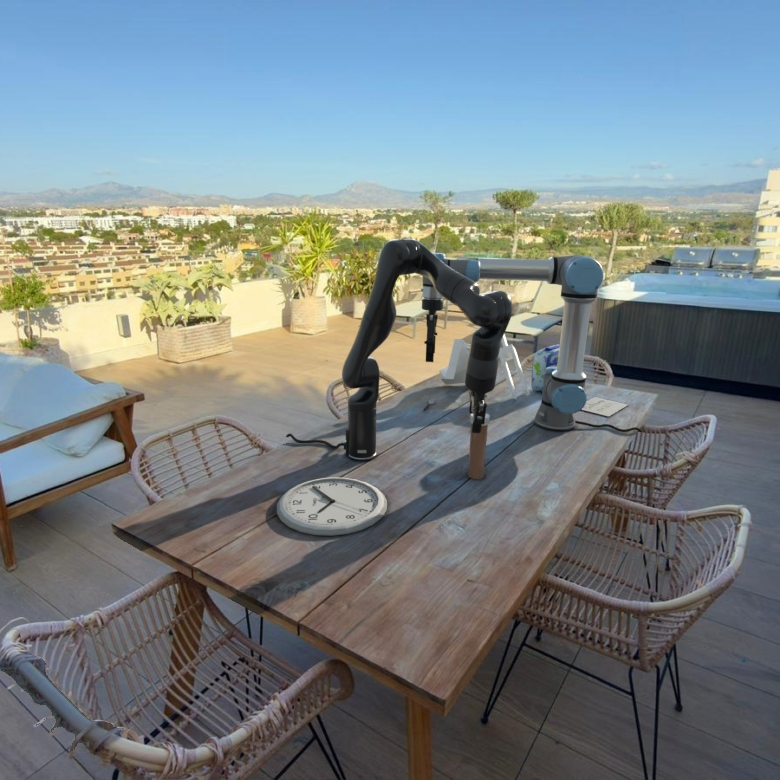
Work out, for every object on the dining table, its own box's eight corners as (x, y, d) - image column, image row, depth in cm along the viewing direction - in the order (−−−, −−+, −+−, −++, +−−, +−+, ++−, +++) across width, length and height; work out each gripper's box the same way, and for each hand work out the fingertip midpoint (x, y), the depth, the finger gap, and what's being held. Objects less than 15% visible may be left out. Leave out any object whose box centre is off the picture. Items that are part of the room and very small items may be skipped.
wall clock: (392, 527, 129) (268, 531, 127) (391, 533, 130) (269, 537, 127) (383, 473, 158) (282, 475, 155) (383, 478, 158) (282, 480, 156)
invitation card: (608, 416, 214) (573, 407, 224) (608, 416, 214) (573, 408, 224) (628, 404, 229) (594, 396, 238) (628, 405, 229) (594, 397, 238)
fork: (420, 411, 216) (420, 406, 216) (430, 400, 230) (431, 395, 230) (426, 412, 215) (426, 407, 215) (436, 401, 230) (436, 396, 229)
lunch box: (547, 397, 237) (552, 352, 231) (526, 391, 245) (531, 348, 238) (574, 386, 255) (580, 344, 249) (554, 381, 262) (559, 340, 256)
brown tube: (486, 478, 160) (491, 418, 154) (471, 480, 159) (475, 420, 153) (479, 471, 164) (484, 413, 158) (465, 473, 163) (469, 414, 157)
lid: (492, 425, 154) (493, 417, 154) (474, 426, 153) (475, 419, 152) (484, 418, 159) (484, 411, 159) (467, 419, 158) (467, 412, 157)
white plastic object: (461, 429, 252) (437, 405, 227) (444, 352, 274) (420, 323, 250) (535, 404, 240) (518, 377, 215) (510, 326, 262) (492, 293, 237)
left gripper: (464, 355, 135) (458, 406, 144) (469, 384, 123) (462, 438, 132) (493, 356, 135) (485, 407, 144) (500, 386, 123) (491, 439, 132)
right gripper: (424, 293, 195) (422, 349, 202) (419, 302, 172) (417, 365, 178) (444, 294, 195) (441, 350, 201) (442, 303, 171) (439, 366, 177)
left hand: (474, 422), depth 138 cm, fingers open, 8 cm apart
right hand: (430, 357), depth 190 cm, fingers open, 13 cm apart
